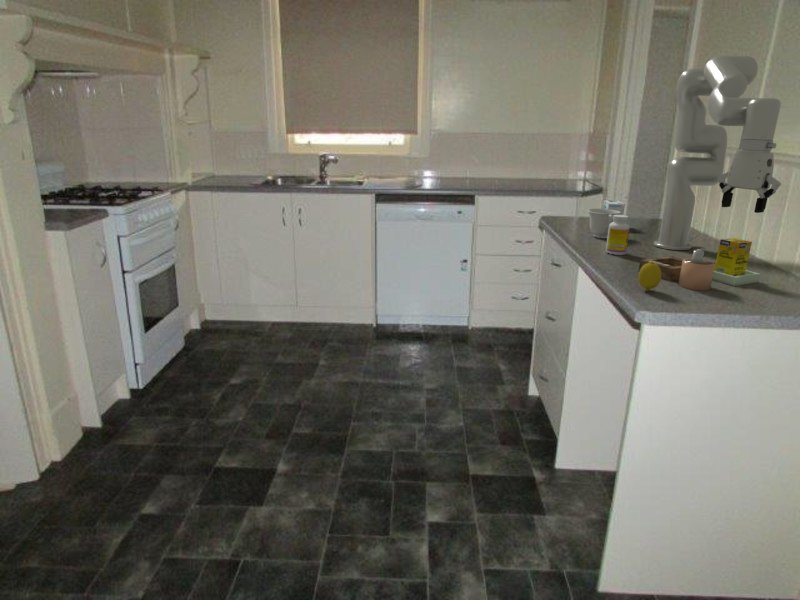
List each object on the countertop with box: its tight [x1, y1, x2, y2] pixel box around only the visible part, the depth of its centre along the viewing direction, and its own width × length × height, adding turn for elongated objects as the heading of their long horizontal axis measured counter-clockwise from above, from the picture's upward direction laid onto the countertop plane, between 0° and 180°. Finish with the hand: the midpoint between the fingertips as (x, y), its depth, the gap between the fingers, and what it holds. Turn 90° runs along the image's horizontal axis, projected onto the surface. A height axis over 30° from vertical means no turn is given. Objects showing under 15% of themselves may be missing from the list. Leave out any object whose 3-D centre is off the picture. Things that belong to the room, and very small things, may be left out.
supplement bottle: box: [605, 214, 631, 256], centre depth 192 cm, size 7×7×13 cm
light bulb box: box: [602, 199, 626, 215], centre depth 240 cm, size 11×7×11 cm, turn 172°
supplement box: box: [714, 237, 753, 276], centre depth 164 cm, size 6×6×11 cm
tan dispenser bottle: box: [678, 248, 716, 291], centre depth 156 cm, size 8×8×10 cm
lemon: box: [637, 262, 662, 291], centre depth 151 cm, size 6×6×8 cm
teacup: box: [587, 208, 621, 239], centre depth 218 cm, size 12×15×10 cm
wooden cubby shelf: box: [638, 255, 684, 282], centre depth 170 cm, size 14×11×4 cm
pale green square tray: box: [712, 267, 761, 287], centre depth 165 cm, size 11×11×2 cm
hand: (741, 209), depth 160 cm, fingers open, 9 cm apart
